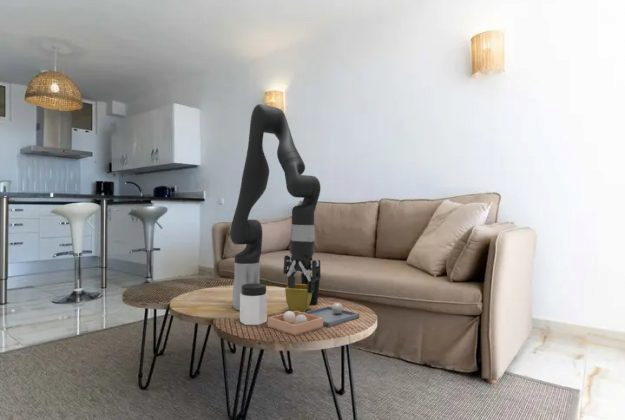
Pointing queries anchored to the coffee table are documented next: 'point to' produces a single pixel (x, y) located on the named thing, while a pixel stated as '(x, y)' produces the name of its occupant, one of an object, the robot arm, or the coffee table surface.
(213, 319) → the coffee table surface
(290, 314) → the white ball
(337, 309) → the pebble
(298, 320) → the pebble
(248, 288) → the jar
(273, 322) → the dish
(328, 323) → the tray
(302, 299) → the flower pot
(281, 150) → the robot arm
